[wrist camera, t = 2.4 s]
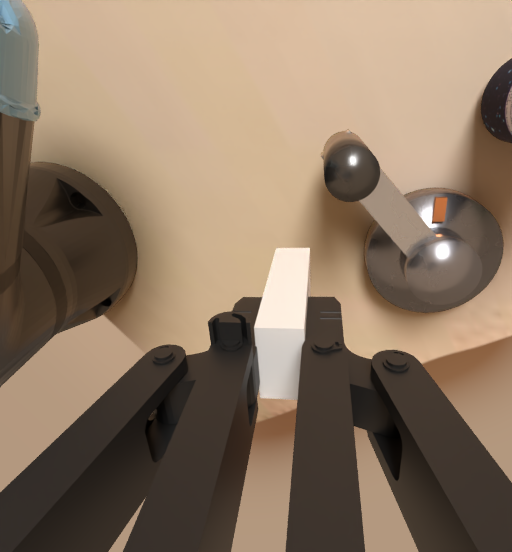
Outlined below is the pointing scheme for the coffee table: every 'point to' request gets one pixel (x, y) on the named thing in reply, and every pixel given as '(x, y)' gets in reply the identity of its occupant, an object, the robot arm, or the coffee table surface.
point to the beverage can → (499, 103)
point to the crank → (402, 224)
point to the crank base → (436, 213)
